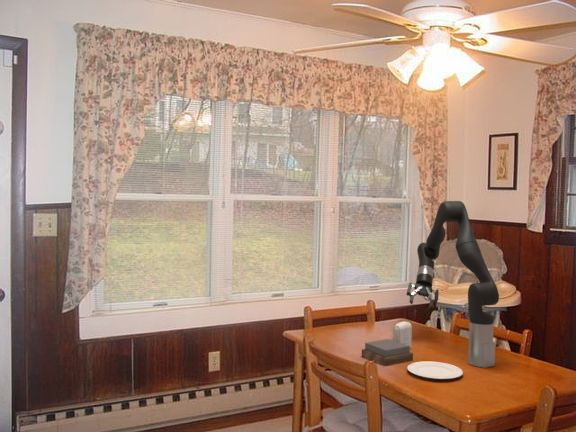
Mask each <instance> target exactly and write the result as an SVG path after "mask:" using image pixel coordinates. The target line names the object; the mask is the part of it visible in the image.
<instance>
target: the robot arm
mask: <svg viewBox="0 0 576 432" xmlns="http://www.w3.org/2000/svg"><path fill="white" fill-rule="evenodd" d="M446 222H447V223H448V222H450V223H451V222H457V224H458V226H459V232H458V236H457V238H456V241H455V250H456V253H457V256H458V258H459V261H460V262H461V263H462V264H463V265H464V267H466V269H468V270H469V271H470V272H471V273H472V274H473V275H474V276H475V277H476V278H477V280H478V282H473V283H471V284H469V287H468V290H467V302H468V303H467V304H468V307H467V308H468V309H467V311H468V317H469V323H468V325H469V328H468V330H469V331H468V364H469V365H470V366H474V367H478V368H484V369H485V368H490V367H494V366H495V365H496V359H495V358H496V342H495V341H494V316H493V315H492V314H489V313H487V312H485V311H483V307H484V306H485V307H486V306H489V307H490V306H495V305H497V304H498V303H499V302H500V301H499V300H500V293H499V290H498V287H497V285H496V282H495V280H494V279H493V277H492V275H491V273H490V271H489V269H488V267H487V264H486V262H485V259H484V257H483V254H482V251H481V249H480V246H479V243H478V241H477V239H476V236H475V233H474V231H473V228H472V225H471V221H470V218H469V215H468V211H467V206H465V204H464V202H463V201H461V200H445V201H442V202H441V203H440V204H439V206H438V209H437V212H436V215H435V218H434V223H433V225H432V229H431V231H430V233H429V235H428V236H427V237H426V241H425V242H421V243H419V244H418V246H417V256H418V269H417V273H416V280H415V284H413V283H412V282H409V284H408V285H407V286H408V287H407V291H406V296H407V297H408V296H409V302H408V303H410V304H411V305H413V303H414V297H416V296H417V295H418V296H422V297H423V298H425V297H426V299H427V300H428V301H429V306H428V309H429V310H432V309H433V307H434V303H435V304H436V303H437V302H438V301H439V295H440V294H439V289H438V288H437V289H433V281H434V267H435V262H434V260H436V259H438V258H439V256H440V248H441V245H442V243H443V241H444V240H445V237H446V230H445V227H444V224H445V223H446ZM412 289H414V290H413V291H412ZM411 291H412V292H411Z"/></svg>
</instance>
